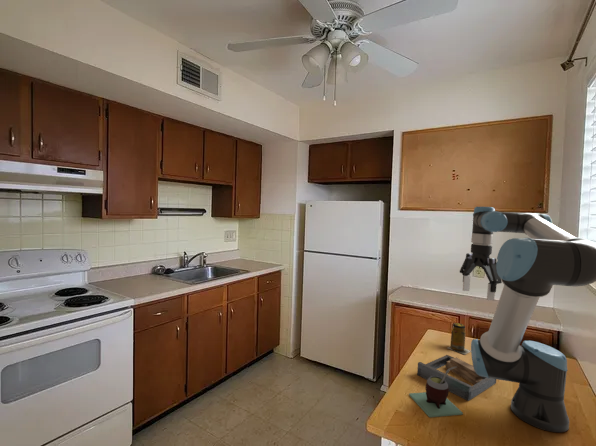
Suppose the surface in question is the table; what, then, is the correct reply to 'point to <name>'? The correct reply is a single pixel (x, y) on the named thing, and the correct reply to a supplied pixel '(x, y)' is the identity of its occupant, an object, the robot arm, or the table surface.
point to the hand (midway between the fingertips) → (477, 295)
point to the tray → (453, 379)
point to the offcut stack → (464, 370)
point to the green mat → (432, 408)
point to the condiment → (458, 339)
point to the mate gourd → (437, 389)
